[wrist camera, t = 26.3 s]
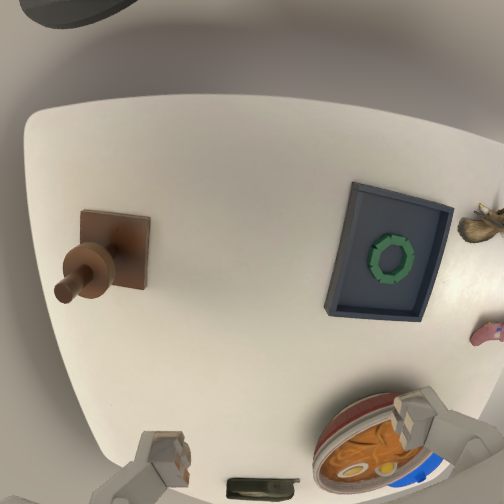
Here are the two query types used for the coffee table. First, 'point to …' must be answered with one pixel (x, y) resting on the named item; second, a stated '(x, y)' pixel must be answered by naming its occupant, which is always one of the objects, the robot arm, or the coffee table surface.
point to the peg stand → (105, 256)
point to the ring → (376, 253)
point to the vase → (419, 472)
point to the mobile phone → (260, 489)
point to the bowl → (363, 449)
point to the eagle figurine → (482, 226)
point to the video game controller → (488, 333)
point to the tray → (387, 255)
